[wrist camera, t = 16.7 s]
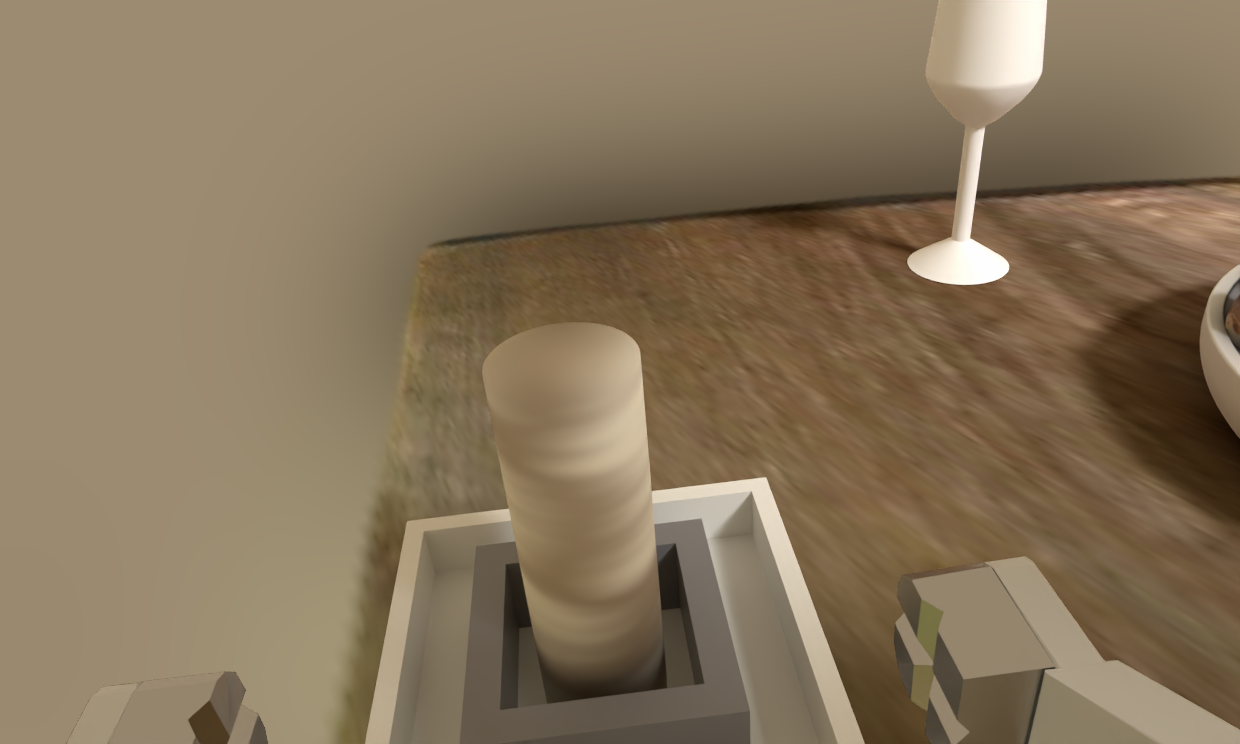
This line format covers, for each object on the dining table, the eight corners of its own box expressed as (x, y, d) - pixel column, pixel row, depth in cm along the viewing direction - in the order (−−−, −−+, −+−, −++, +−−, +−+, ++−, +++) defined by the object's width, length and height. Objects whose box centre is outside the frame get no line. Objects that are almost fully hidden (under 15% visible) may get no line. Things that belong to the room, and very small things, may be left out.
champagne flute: (1020, 253, 61) (1087, -142, 48) (994, 292, 56) (1062, -133, 44) (924, 238, 64) (964, -134, 52) (893, 274, 60) (928, -124, 47)
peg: (659, 629, 34) (632, 314, 26) (675, 730, 30) (649, 393, 23) (544, 644, 34) (486, 331, 26) (546, 747, 30) (478, 414, 22)
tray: (765, 529, 39) (766, 457, 37) (886, 881, 26) (897, 799, 23) (421, 571, 38) (401, 501, 36) (362, 952, 25) (325, 876, 23)
